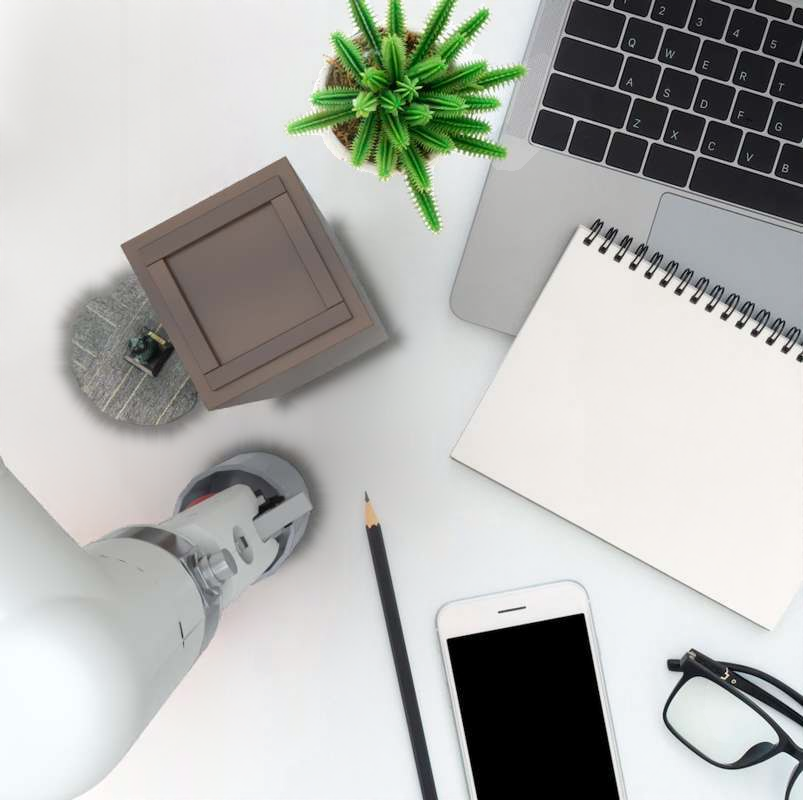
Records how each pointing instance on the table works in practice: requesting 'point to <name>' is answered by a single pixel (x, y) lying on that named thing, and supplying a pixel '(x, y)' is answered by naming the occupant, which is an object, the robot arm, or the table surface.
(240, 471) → the steel cup
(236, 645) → the table surface
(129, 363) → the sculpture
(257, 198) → the crate
